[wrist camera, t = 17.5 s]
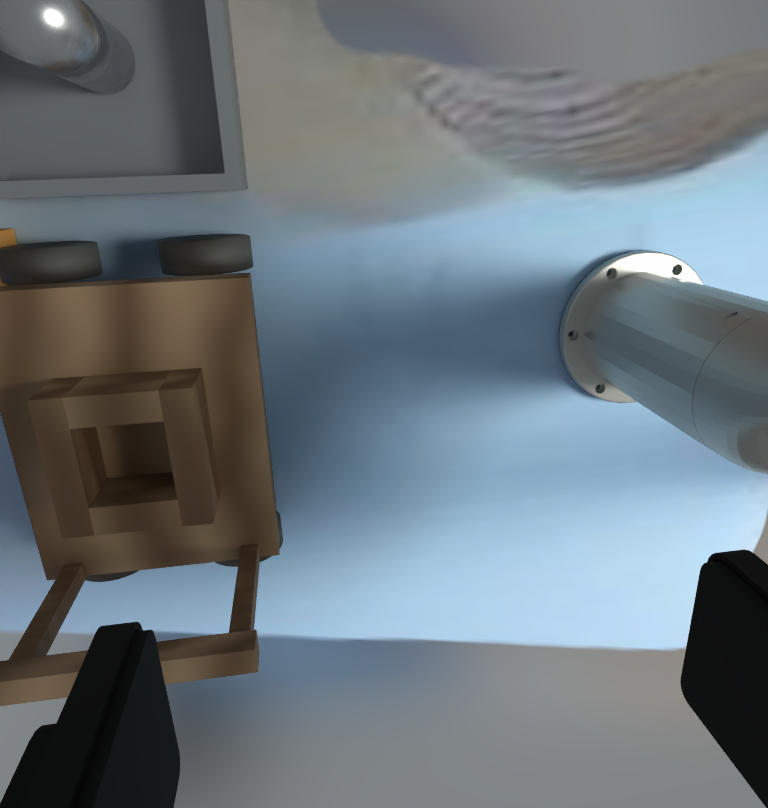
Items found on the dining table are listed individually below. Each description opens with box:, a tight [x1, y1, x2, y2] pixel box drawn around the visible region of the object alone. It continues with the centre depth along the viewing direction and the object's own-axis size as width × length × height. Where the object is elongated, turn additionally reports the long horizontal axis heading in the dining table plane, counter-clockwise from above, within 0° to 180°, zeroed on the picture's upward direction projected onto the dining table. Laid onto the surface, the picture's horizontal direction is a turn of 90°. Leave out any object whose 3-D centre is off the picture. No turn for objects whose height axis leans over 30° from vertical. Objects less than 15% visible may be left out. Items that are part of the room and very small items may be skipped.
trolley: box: [0, 234, 283, 706], centre depth 38 cm, size 16×24×19 cm, turn 2°
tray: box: [0, 0, 248, 199], centre depth 37 cm, size 16×16×4 cm
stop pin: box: [0, 0, 135, 95], centre depth 32 cm, size 4×4×12 cm
